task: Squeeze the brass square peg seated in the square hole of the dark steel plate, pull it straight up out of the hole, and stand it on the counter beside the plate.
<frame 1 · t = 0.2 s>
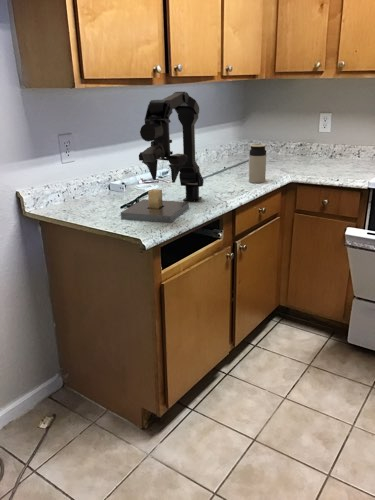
hand: (163, 181, 161), 14 cm above the worktop, tool pointing down, fingers open, 9 cm apart
brass peg: (155, 202, 170), in the post plate
travel mug: (257, 182, 218), on the worktop
post plate: (156, 213, 171), on the worktop
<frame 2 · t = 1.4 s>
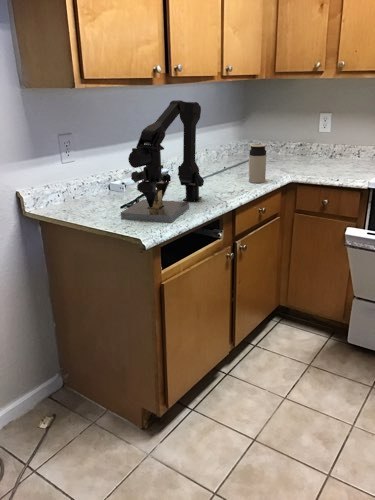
hand: (155, 204, 170), 4 cm above the worktop, tool pointing down, fingers open, 9 cm apart
nothing on the worktop moved.
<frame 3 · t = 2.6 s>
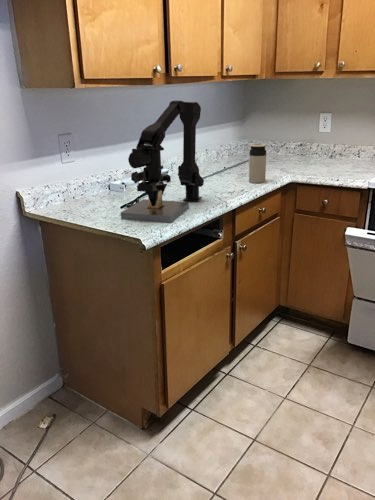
hand: (155, 204, 170), 4 cm above the worktop, tool pointing down, fingers closed on brass peg, 4 cm apart
brass peg: (155, 202, 170), in the post plate, touching gripper
everything else where it was.
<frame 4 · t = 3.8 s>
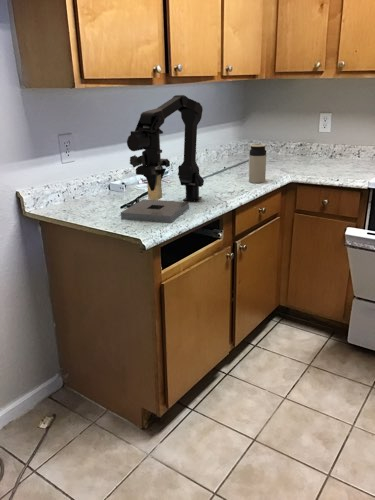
hand: (154, 189, 168), 10 cm above the worktop, tool pointing down, fingers closed on brass peg, 4 cm apart
brass peg: (154, 186, 167), point 10 cm above the worktop, touching gripper
everything else where it was.
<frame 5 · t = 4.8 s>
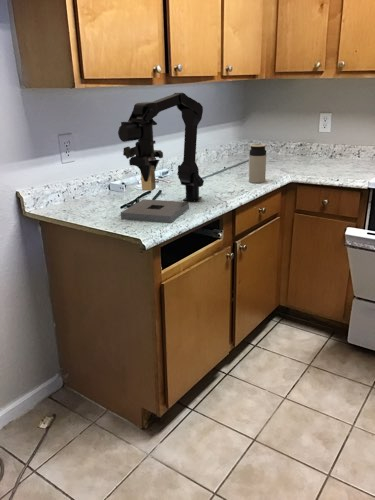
hand: (148, 180, 169), 13 cm above the worktop, tool pointing down, fingers closed on brass peg, 4 cm apart
brass peg: (148, 177, 168), point 14 cm above the worktop, touching gripper
everything else where it was.
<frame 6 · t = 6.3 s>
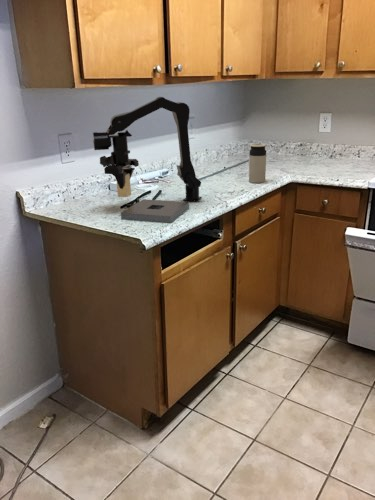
hand: (123, 187, 180), 8 cm above the worktop, tool pointing down, fingers closed on brass peg, 4 cm apart
brass peg: (123, 185, 180), point 9 cm above the worktop, touching gripper
everything else where it was.
when the fingers open (5 cm above the worktop, at t = 7.5 s): brass peg drops 1 cm, on the worktop.
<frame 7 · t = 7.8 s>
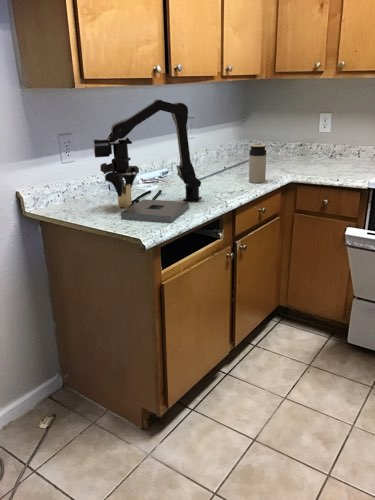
hand: (124, 194, 181), 5 cm above the worktop, tool pointing down, fingers open, 7 cm apart
brass peg: (124, 195, 181), on the worktop
everything else where it was.
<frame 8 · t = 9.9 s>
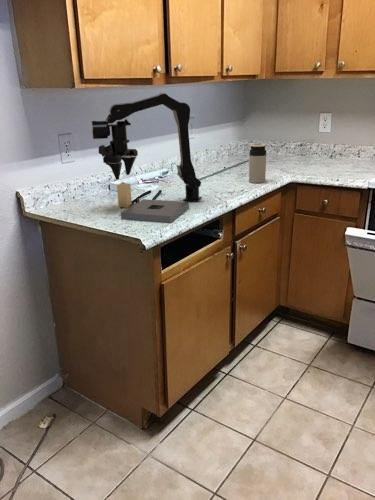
hand: (122, 177, 178), 12 cm above the worktop, tool pointing down, fingers open, 9 cm apart
nothing on the worktop moved.
at the end: brass peg inside the target area (0.1 cm from its centre), on the worktop; brass peg tilted 0°; the gripper is holding nothing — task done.
